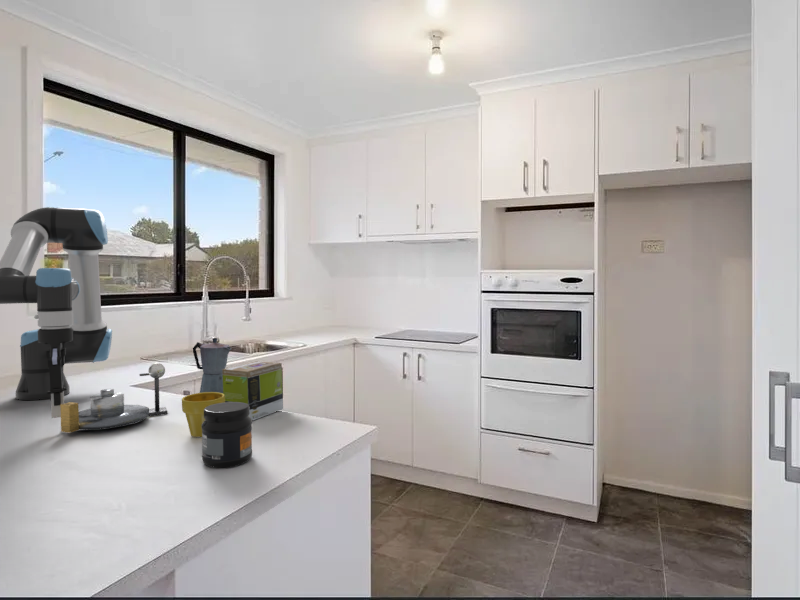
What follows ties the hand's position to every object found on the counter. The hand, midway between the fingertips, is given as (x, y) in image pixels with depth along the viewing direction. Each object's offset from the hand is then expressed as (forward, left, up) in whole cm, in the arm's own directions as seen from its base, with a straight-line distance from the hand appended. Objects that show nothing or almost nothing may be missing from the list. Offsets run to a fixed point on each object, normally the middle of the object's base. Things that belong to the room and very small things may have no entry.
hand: (58, 416), depth 128 cm
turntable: (-1, +11, -3) cm, 11 cm away
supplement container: (+44, +33, -4) cm, 56 cm away
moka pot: (-23, +42, -4) cm, 48 cm away
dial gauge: (-7, +23, -4) cm, 24 cm away
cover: (-2, +11, -1) cm, 11 cm away
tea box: (+9, +48, -4) cm, 50 cm away
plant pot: (+21, +32, -4) cm, 39 cm away
